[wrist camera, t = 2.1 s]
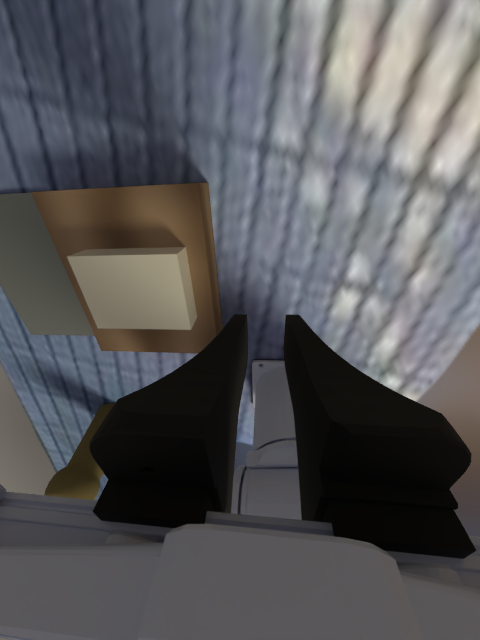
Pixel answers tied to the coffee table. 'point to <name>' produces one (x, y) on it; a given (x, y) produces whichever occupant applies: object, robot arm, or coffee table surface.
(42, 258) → the mat
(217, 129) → the coffee table surface
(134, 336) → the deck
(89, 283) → the tile
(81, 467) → the cork
